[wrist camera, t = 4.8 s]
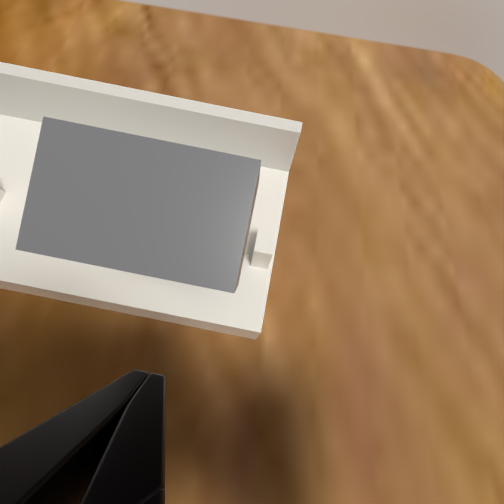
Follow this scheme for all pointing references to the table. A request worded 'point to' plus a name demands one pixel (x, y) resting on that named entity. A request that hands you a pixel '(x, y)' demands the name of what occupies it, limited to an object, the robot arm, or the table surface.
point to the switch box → (153, 126)
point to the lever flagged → (139, 205)
